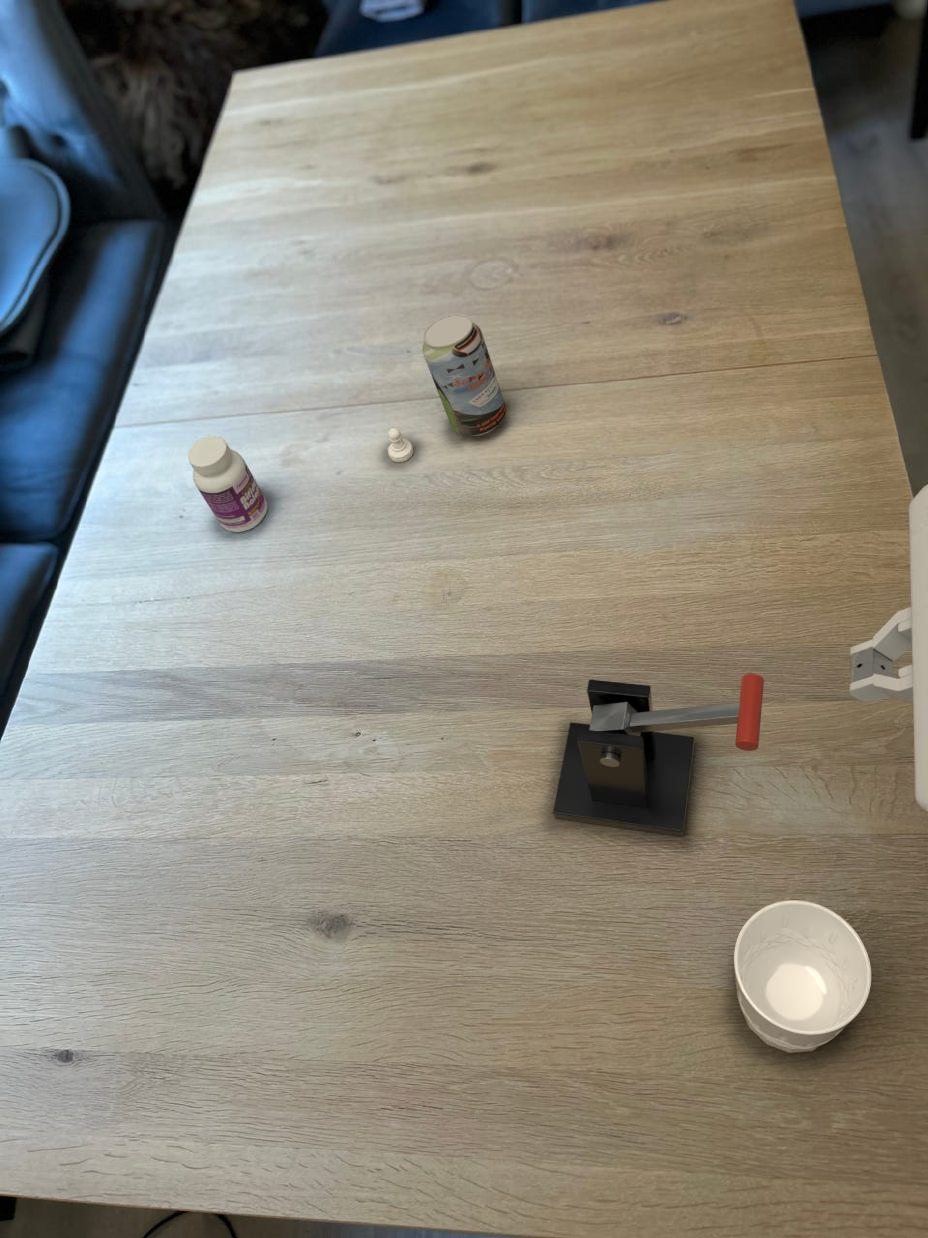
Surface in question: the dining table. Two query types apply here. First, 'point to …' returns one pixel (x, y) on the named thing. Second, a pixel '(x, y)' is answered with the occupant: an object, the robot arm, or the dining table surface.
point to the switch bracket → (625, 770)
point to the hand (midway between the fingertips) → (856, 676)
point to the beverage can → (464, 375)
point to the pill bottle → (226, 484)
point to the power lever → (689, 716)
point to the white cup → (800, 974)
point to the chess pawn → (399, 446)
